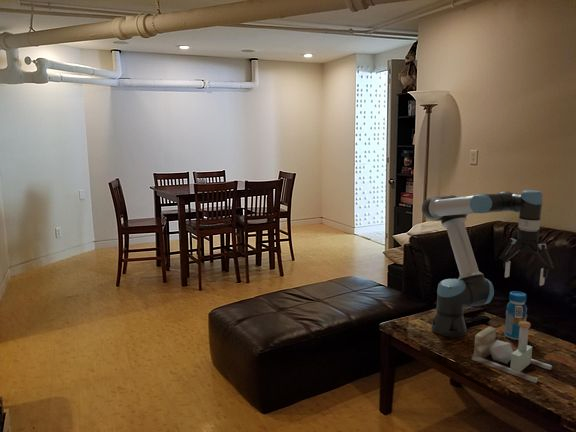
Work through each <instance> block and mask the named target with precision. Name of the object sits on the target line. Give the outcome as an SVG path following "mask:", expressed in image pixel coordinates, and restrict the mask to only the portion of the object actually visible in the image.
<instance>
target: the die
mask: <svg viewBox="0 0 576 432" xmlns="http://www.w3.org/2000/svg"><path fill="white" fill-rule="evenodd" d="M490 351H491V354H490V355H491V358H492V360H493V362H498V363H501V364H505V365H507V364H509V362H511V354H512V353H513V352H514V350H513V347H512V344H511V342H507V341H503V340H499V339H495V343H494V344H493V345H492V347H491V348H490Z"/></svg>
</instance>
